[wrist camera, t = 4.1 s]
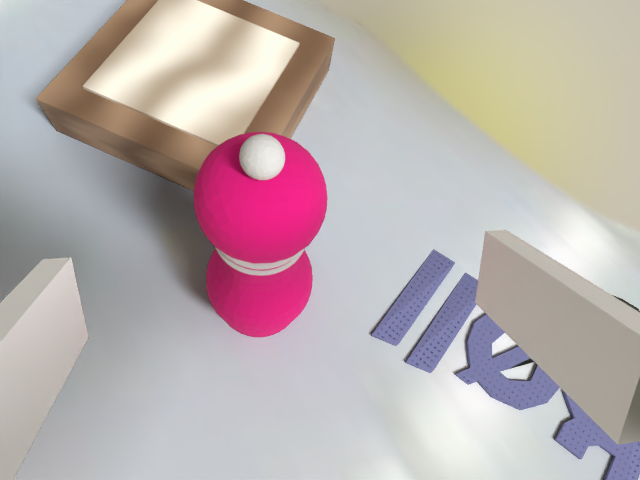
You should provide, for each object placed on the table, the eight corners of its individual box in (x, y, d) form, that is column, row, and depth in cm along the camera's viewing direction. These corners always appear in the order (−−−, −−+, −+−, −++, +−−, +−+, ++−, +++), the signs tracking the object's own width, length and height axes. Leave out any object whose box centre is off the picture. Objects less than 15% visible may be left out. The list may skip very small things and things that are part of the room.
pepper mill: (217, 352, 33) (168, 245, 15) (207, 260, 36) (155, 74, 17) (314, 335, 34) (378, 218, 16) (297, 248, 37) (336, 64, 19)
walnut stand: (56, 130, 38) (33, 95, 35) (167, 3, 46) (158, -38, 42) (247, 214, 38) (246, 188, 34) (328, 70, 45) (335, 35, 41)
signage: (747, 469, 34) (711, 602, 30) (738, 468, 35) (702, 599, 31) (438, 243, 38) (372, 334, 34) (435, 246, 39) (370, 336, 35)
